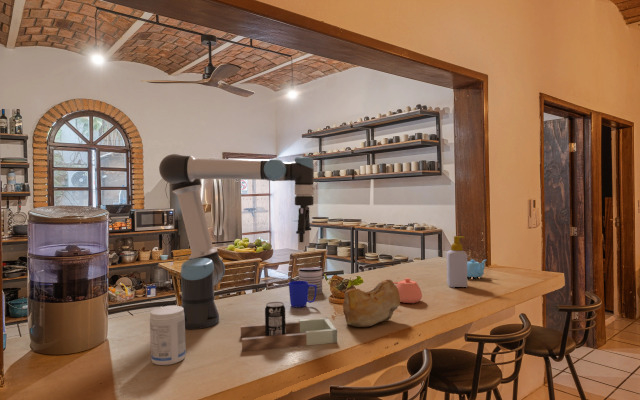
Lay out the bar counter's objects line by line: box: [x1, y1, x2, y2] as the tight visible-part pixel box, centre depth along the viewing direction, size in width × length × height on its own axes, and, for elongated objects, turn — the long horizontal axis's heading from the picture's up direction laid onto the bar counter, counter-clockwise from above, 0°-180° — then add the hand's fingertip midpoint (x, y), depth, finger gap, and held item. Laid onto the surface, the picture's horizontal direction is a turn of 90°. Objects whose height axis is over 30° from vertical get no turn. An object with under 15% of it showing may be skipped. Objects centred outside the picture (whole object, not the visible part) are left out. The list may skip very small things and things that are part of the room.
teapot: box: [467, 259, 487, 278], centre depth 234 cm, size 13×13×10 cm
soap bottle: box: [446, 235, 468, 288], centre depth 214 cm, size 9×9×25 cm
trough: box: [240, 320, 308, 352], centre depth 139 cm, size 20×14×4 cm
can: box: [298, 267, 323, 296], centre depth 206 cm, size 11×11×12 cm
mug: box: [288, 280, 317, 308], centre depth 180 cm, size 8×12×10 cm
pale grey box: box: [298, 317, 338, 346], centre depth 142 cm, size 10×14×4 cm
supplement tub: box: [149, 305, 187, 366], centre depth 124 cm, size 10×10×15 cm
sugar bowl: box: [393, 277, 423, 304], centre depth 186 cm, size 12×14×10 cm
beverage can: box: [264, 301, 286, 336], centre depth 139 cm, size 7×7×12 cm
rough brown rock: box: [342, 279, 401, 328], centre depth 160 cm, size 23×17×15 cm
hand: (303, 248), depth 171 cm, fingers open, 13 cm apart
